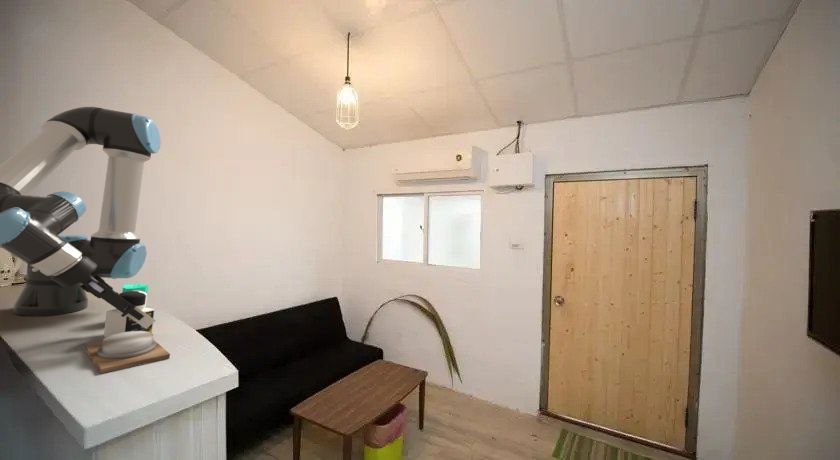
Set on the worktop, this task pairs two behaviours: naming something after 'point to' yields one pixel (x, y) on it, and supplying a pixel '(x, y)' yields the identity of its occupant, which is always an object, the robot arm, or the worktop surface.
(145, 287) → the candle
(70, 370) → the worktop surface
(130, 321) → the medicine bottle
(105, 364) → the stub board
